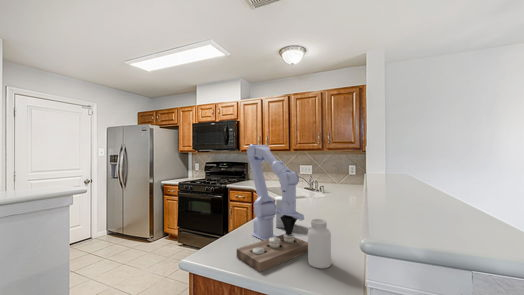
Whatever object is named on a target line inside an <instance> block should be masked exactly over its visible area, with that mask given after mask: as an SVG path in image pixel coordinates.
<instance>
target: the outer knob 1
mask: <svg viewBox="0 0 524 295" xmlns="http://www.w3.org/2000/svg"><path fill="white" fill-rule="evenodd" d="M253 254H255V255H257V256H258V255H261V254H264V249H263V248H254V249H253Z"/></svg>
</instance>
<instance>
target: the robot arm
mask: <svg viewBox="0 0 524 295" xmlns="http://www.w3.org/2000/svg"><path fill="white" fill-rule="evenodd" d="M246 155H247V158H248V163H249V165H250V170H251V175H252V179H253V183H254V186H255V188H254V189H255V192H256V196H257V198H256V199H255V201H254V203H253V213H254V215H255V217H254V219H253V233H252V234H251V235H252V236H253V237H255V238H258V239H259V240H261V241H263V240H267V239H269V238H273V237H276V236H277V235H276V234H274V218H275V215H276V213H279V214H281V215H283V216H282V217H281V220H282V222H283V225H284V228H283V229H284V231H285V233H286V234H287V235H290V234H293V230H294V226H295V224H296V222H297V220H298V221H303V220H305V215H304V214H302V213H300V212H298V211H297V186H298V184H299V182H300V177H299V174H298V173H297V171H293V170H291V169H290V168H289V167H287V165H286V164H285V162H284V161H283V160H277V158H276V157H275V155H274V154H273V153H272V152H271V148H270V147H269V146H268V144H251V143H250V144H249V145H248V147H247V150H246ZM265 161H266V162H267V163H268V164H269V165H270V166H271V171H272V172H273V173H274V174H275V175H276V176H277V178H278V183H279V184H280V189H281V197H282V209H280V208H277V206H276V204H275V199H274V198H273V197H272V196H270V194H269V192H268V188H267V184H266V180H265V176H264V172H263V167H262V164H263V163H265Z"/></svg>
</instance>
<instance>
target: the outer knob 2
mask: <svg viewBox="0 0 524 295" xmlns="http://www.w3.org/2000/svg"><path fill="white" fill-rule="evenodd" d="M283 234H284V235H283ZM283 234H282V235H283V237H284V243H287V244H292V243H294V237H295V234H294V233H292V234H290V235H287V234H286V232H285V233H283Z"/></svg>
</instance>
